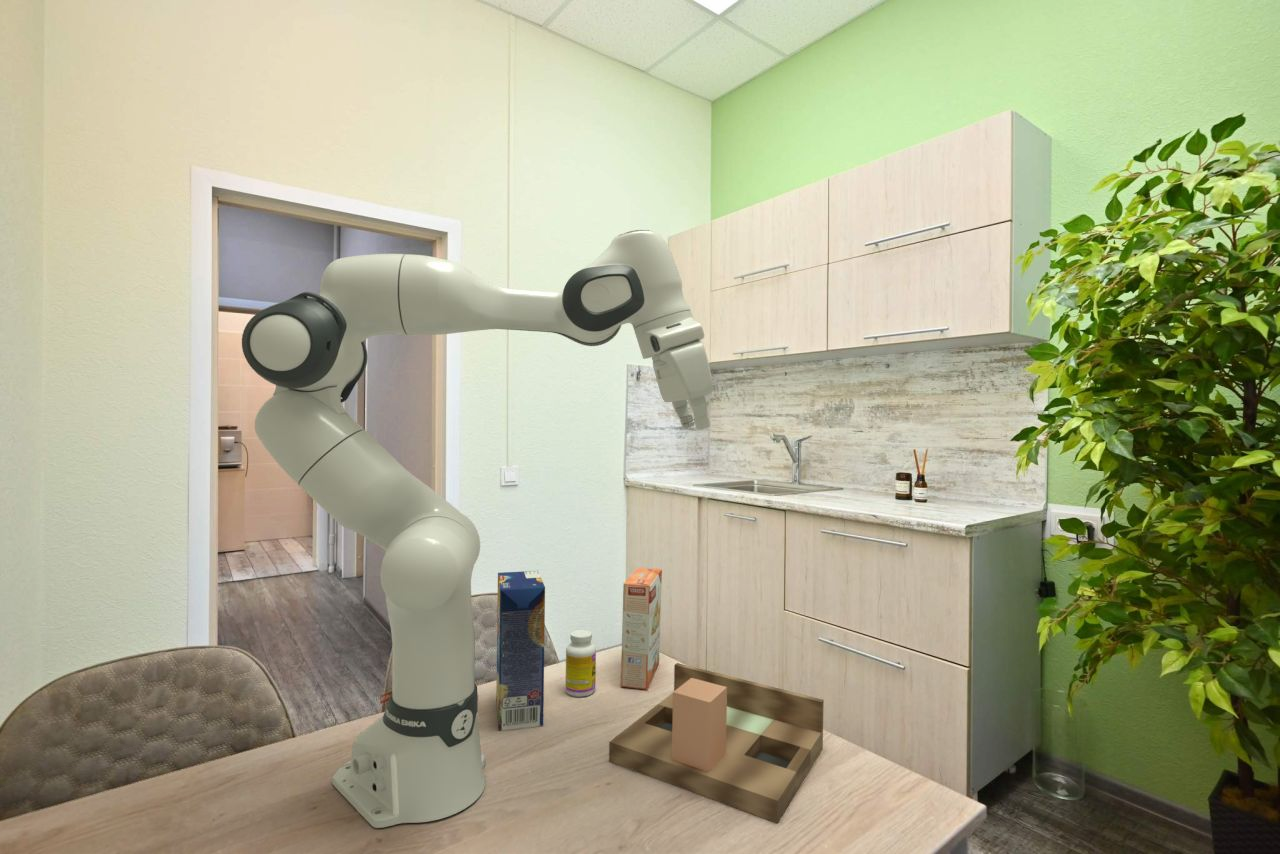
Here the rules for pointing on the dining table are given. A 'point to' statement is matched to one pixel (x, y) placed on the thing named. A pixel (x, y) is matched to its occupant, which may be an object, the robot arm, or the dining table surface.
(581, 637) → the supplement bottle
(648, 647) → the cracker box
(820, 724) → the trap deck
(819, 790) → the dining table surface
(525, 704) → the juice carton
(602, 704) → the dining table surface
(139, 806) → the dining table surface
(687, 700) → the terracotta block
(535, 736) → the dining table surface
